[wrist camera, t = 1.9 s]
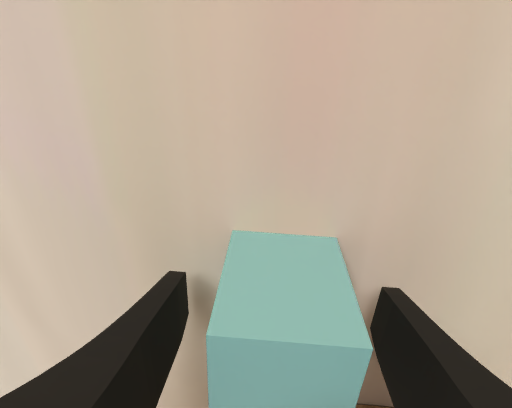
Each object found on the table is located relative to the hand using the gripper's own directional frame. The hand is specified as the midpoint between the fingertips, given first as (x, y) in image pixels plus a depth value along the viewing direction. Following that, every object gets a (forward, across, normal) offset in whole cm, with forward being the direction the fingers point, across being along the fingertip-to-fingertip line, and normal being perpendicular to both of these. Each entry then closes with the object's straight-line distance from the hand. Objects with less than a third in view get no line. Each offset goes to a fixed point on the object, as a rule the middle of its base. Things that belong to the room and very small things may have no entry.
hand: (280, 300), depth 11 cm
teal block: (+2, 0, 0) cm, 2 cm away
